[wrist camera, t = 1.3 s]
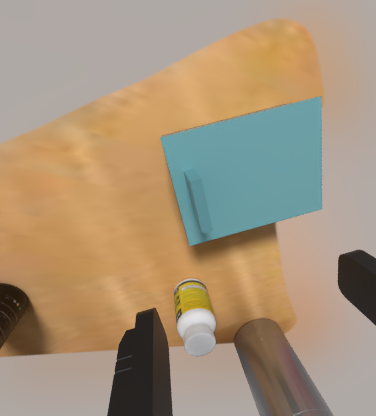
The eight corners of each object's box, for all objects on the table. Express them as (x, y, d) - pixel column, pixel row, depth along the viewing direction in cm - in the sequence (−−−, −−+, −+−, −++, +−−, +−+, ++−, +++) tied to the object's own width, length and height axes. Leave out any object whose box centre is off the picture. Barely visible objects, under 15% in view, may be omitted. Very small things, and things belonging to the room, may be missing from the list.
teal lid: (308, 98, 24) (360, 89, 18) (311, 203, 28) (353, 224, 22) (160, 136, 23) (161, 141, 17) (187, 237, 28) (196, 269, 22)
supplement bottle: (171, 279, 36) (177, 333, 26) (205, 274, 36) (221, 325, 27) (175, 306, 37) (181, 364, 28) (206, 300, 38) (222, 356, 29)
